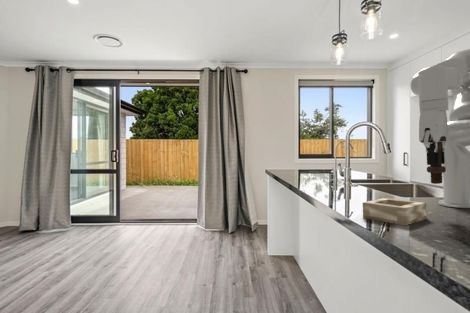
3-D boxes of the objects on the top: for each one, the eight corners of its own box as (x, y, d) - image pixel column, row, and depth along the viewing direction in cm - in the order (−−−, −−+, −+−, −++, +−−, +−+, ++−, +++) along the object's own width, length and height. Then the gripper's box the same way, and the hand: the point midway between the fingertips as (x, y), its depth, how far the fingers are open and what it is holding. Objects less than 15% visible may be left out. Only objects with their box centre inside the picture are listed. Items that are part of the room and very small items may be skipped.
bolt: (450, 184, 88) (448, 135, 87) (432, 184, 89) (430, 137, 88) (440, 181, 93) (439, 136, 93) (423, 182, 94) (421, 137, 94)
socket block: (384, 212, 99) (384, 197, 99) (426, 218, 88) (426, 202, 88) (363, 218, 92) (362, 202, 91) (405, 225, 81) (405, 208, 81)
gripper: (431, 109, 98) (433, 162, 99) (408, 108, 89) (410, 166, 89) (458, 105, 92) (460, 162, 92) (435, 104, 83) (438, 167, 83)
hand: (435, 163), depth 91 cm, fingers closed on bolt, 3 cm apart
